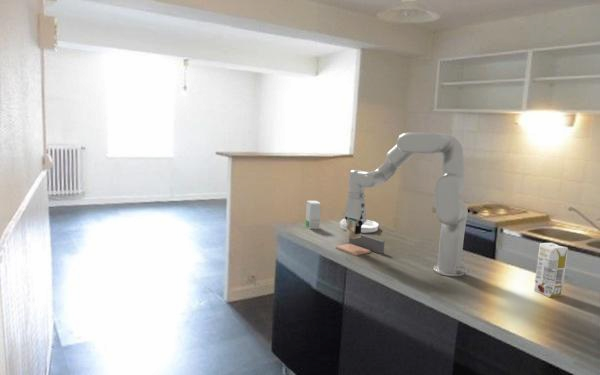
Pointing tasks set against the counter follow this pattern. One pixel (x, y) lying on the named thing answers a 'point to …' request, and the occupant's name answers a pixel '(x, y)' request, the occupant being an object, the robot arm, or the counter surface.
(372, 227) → the pan
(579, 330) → the counter surface
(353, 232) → the block
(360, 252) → the terracotta tile
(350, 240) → the board
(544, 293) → the juice carton
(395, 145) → the robot arm
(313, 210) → the skincare box
